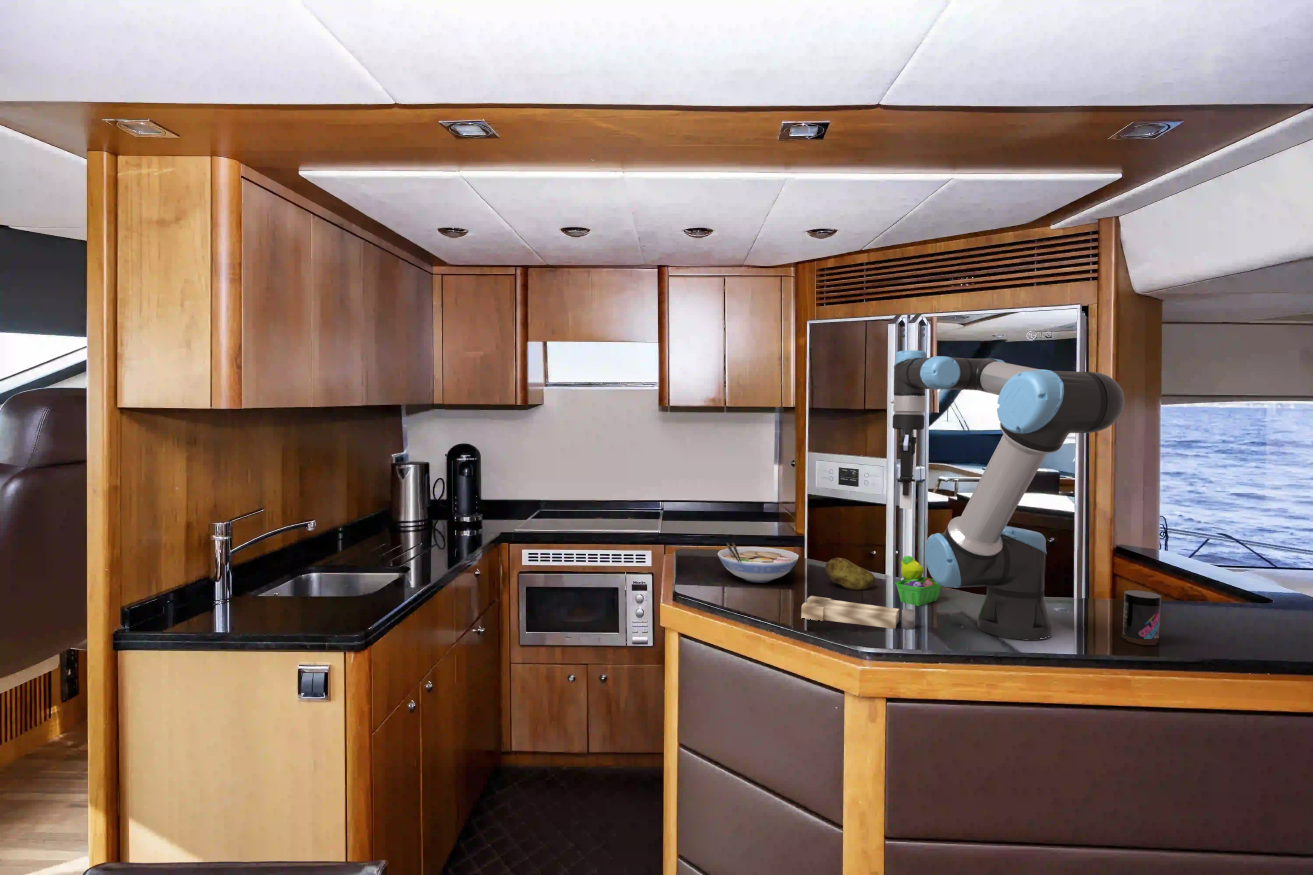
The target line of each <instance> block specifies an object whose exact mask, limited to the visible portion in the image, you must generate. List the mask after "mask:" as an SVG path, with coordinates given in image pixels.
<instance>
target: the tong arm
mask: <svg viewBox="0 0 1313 875" xmlns="http://www.w3.org/2000/svg"><path fill="white" fill-rule="evenodd" d="M806 603H813V604H822V605H831V606H839V607H848V608H857V609H865V610H874V611H882V612H891V613H897V623H896V625H898V623H899V621H900V608H897V607H895V608H893V607H888V606H880V605H873V604H865V603H857V602H851V601H850V602H849V601H844V600H835V599H832V598H830V597H829V598H828V597H823V596H815V595H810V596H808V598H806Z"/></svg>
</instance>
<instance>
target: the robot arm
mask: <svg viewBox="0 0 1313 875" xmlns="http://www.w3.org/2000/svg"><path fill="white" fill-rule="evenodd" d="M893 364H894V365H893V399H891V400H890V403H891V404H893V407H892V409H893V410H892V411H893V412H895V414H892V424H891V425H892V428H893V429H894V430H902V431H901V432H902V433H901V436H899V437H898V445H899V454H900V458H899V459H900V463H899V465H900V468H899V469H900V470H899V471H900V472H899V475H900V476H899V479H898V478H897V482H898V483H900V484H899V486H900V487H899V488H900V489H899V509H904V510H905V509H908V510H909V509H910V510H911V509H912V504H913V503H912V501H913V500H912V498H913V483H914V482H916V479H915V478H914V457H915V456H914V455H915V453H916V444H917V441H918V440H917V436H914V434H915V433H914V431H915V430H916V431H920V430H924V429H925V417H926V416H925V414H923V413H926V397H927V396H926V390H935V391H937V390H941V391H942V390H946V391H947V390H954V391H955V390H957V391H962V390H963V391H966V390H967V391H979V392H983V393H987V394H992V395H996V396H998V398H997V404H998V405H999V406H998V407H997V409H996V413H997V417H998V420H999V422H1000V423H999V427H1000V429H1001V432H1002V436H1001V438H1000V441H999V442H998V444H997V446H996V448H995V449H994V452H993V454H992V455H991V457H990V460H989V461H988V463H987V465H986V467H985V469H984V471H983V473H982V475H981V476H980V479H979V481H978V483H977V484H976V486H975V489H974V490H973V492H972V495H971V496H970V498H969V501H968V502H967V503H966V506H965V508H964V510H963V511H962V514H961V516H955V517H954V518H952V519H951V520H950V521H949V522H948V524H947V526H946V528H945V530H944V532H942V533H940V532H937V533H933V534H931V535H930V536H929V537H928V538H927V540H926V542H925V545H924V559H925V564H926V567H927V570H928V572H929V574H930V576H931V579H934V581H935V582H936V583H937V584H939V585H941V587H944V588H953V589H954V588H955V589H957V588H958V589H959V588H972V587H973V588H974V587H986V595H985V598H984V599H983V601H982V602H983V603H982V605H981V607H980V609H979V613H978V614H977V623H976V626H977V628H978V629H979V630H980V631H983V632H985V633H987V634H990V635H993V636H996V637H1001V638H1005V639H1006V638H1007V639H1012V638H1014V639H1013V640H1020V639H1040V638H1045V637H1048V636H1050V635H1051V636H1052V630H1053V629H1052V628H1053V627H1052V626H1053V625H1052V621H1051V619H1050V616H1049V613H1048V609H1047V608H1048V607H1047V605H1046V603H1045V579H1046V563H1047V561H1046V560H1047V554H1048V552H1047V544H1046V543H1047V540H1046V537H1045V535H1044V534H1043V533H1041V532H1038V531H1034V530H1029V529H1025V528H1019V527H1014V526H1008V522H1009V521H1010V520H1011V518H1012V516H1013V514H1014V513H1015V510H1017V507H1018V505H1019V504H1020V502H1021V500H1022V499H1023V497H1024V495H1025V493H1026V491H1027V490H1028V488H1029V487H1030V484H1031V482H1032V481H1033V479H1034V478H1035V476H1036V474H1037V472H1038V470H1039V468H1040V466H1042V463H1043V462H1044V460H1045V458H1046V457H1047V455H1048V454H1053V453H1056V452H1058V451H1059V450H1060V449H1061V448H1062V447H1063V444H1064V443H1065V441H1066V439H1067V437H1068V436H1069V435H1070V434H1091V433H1098V432H1100V431H1101V432H1102V431H1103V430H1106V429H1108V428H1109V427H1111V426H1112V425H1114V423H1115V422H1117V421H1118V420H1119V419H1120V417H1121V416H1122V413H1123V411H1124V408H1125V395H1124V391H1123V389H1122V387H1121V386H1120V385H1119V383H1118V382H1117V381H1116V380H1115V379H1113V378H1112V377H1111V376H1109V375H1107V374H1104V373H1101V372H1097V371H1096V372H1095V371H1065V370H1063V371H1062V370H1050V369H1049V370H1048V369H1040V368H1039V369H1038V368H1034V367H1029V366H1024V365H1023V366H1022V365H1018V364H1013V363H1008V362H1005V361H1004V360H1002V359H997V358H989V357H988V358H966V357H950V356H946V355H945V356H943V355H941V356H940V355H939V356H938V355H935V356H931V357H927V353H926V351H924V350H913V349H912V350H910V349H909V350H899V351H897V352H896V353H895V356H894V363H893ZM1051 636H1050V637H1051Z"/></svg>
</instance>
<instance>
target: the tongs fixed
mask: <svg viewBox="0 0 1313 875" xmlns="http://www.w3.org/2000/svg"><path fill="white" fill-rule="evenodd" d="M800 611H801V614H800V618H801V619H802V618H805V620H810V619H811V620H812V621H818V620H820V622H823V621H829V622H835V623H836V622H837V623H843V624H844V623H845V624H854V625H861V626H862V625H863V626H870V627H878V628H887V629H895V630H896V628H897V624H898V623H897V613H891V612H882V611H874V610H865V609H857V608H848V607H839V606H831V605H822V604H813V603H807V602H806V601H805V602H803V603H802V605H801V610H800ZM915 619H916V610H914V609H909V608H903V609H901V628H903V629H906V630H914V629H915V628H916V627H915V626H916V624H915V621H916V620H915ZM896 623H897V624H896Z"/></svg>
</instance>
